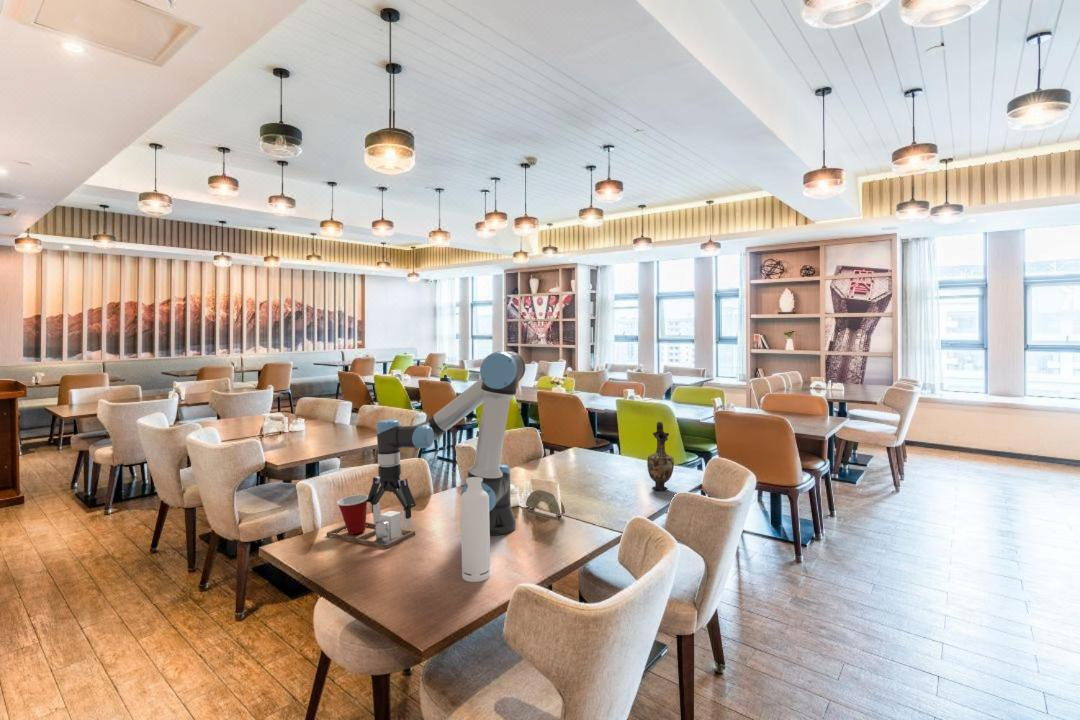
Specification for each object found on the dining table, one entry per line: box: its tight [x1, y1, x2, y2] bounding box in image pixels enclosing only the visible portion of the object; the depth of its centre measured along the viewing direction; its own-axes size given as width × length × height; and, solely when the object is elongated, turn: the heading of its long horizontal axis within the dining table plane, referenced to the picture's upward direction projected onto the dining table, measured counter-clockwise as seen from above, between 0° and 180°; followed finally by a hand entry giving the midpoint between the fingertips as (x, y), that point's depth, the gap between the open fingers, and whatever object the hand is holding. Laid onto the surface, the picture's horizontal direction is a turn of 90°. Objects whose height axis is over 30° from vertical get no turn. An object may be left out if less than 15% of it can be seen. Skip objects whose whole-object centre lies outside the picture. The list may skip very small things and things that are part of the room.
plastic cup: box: [336, 494, 369, 535], centre depth 188 cm, size 11×11×12 cm
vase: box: [646, 421, 675, 492], centre depth 237 cm, size 12×12×30 cm
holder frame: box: [326, 521, 416, 550], centre depth 185 cm, size 28×14×1 cm, turn 63°
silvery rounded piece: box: [374, 520, 391, 544], centre depth 178 cm, size 4×4×7 cm
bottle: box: [460, 477, 491, 583], centre depth 151 cm, size 8×8×28 cm
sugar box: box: [380, 510, 403, 541], centre depth 184 cm, size 5×5×8 cm
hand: (391, 524), depth 184 cm, fingers open, 13 cm apart
